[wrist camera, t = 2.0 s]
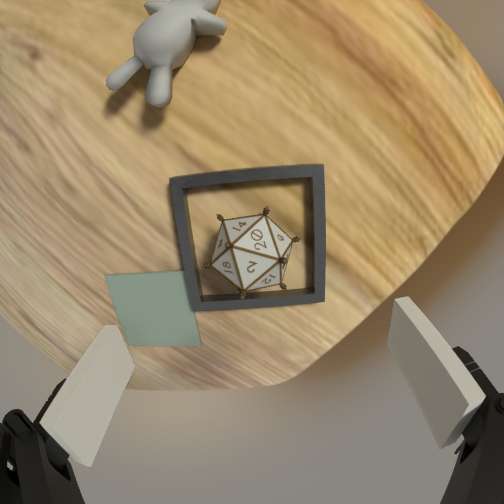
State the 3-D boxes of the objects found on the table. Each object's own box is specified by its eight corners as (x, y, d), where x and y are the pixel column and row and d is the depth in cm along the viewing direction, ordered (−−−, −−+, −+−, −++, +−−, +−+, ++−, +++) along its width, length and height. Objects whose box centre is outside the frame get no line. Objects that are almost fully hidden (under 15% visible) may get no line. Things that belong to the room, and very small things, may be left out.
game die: (237, 223, 34) (185, 200, 25) (306, 214, 30) (273, 182, 21) (237, 298, 33) (183, 300, 24) (309, 297, 29) (276, 300, 20)
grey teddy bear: (247, -12, 18) (164, 106, 21) (245, 13, 23) (176, 118, 26) (167, -31, 16) (85, 78, 19) (175, -8, 21) (106, 91, 24)
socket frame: (195, 304, 34) (192, 311, 32) (173, 176, 28) (169, 178, 27) (321, 295, 33) (324, 301, 32) (320, 163, 28) (323, 164, 26)
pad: (129, 343, 36) (128, 344, 36) (106, 274, 33) (104, 276, 32) (201, 344, 36) (201, 346, 36) (185, 269, 32) (184, 271, 32)
